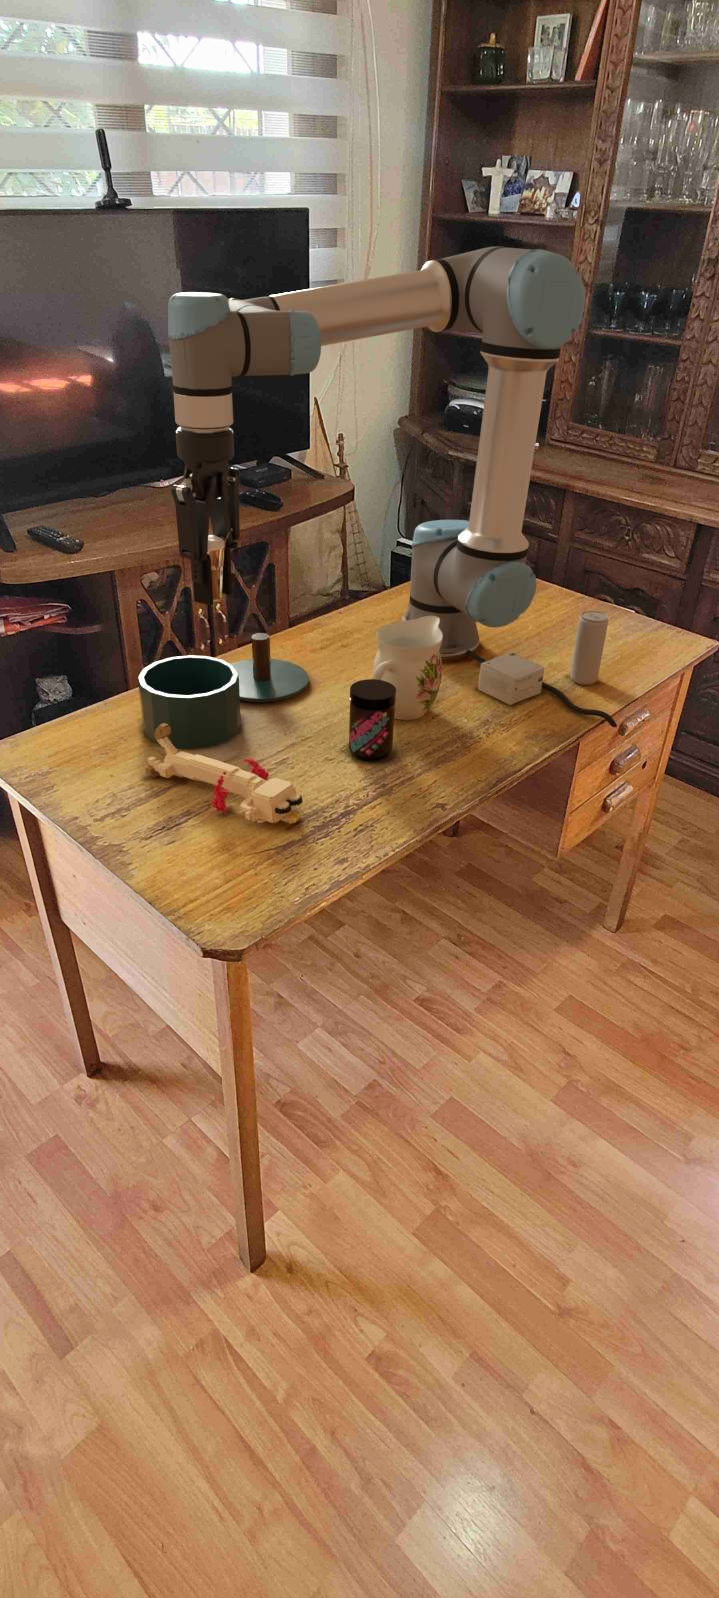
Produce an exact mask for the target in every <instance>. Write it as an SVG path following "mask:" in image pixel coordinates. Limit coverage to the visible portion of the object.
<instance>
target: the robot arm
mask: <svg viewBox="0 0 719 1598" xmlns="http://www.w3.org/2000/svg"><path fill="white" fill-rule="evenodd" d="M585 295H586V294H585V287H584V282H583V279H582V277H581V275H580V272H578V270H577V268H576V265H574V264H573V262H572V261H571V260H569V258H567V257H565V256H564V255H561V254H560V253H555V252H553V251H549V250H545V249H541V248H538V249H529V248H515V247H508V246H488V247H483V248H479V249H476V250H471V251H466V252H463V253H459V254H455V255H452V256H447V257H446V256H445V257H443V258H438V259H437V258H436V259H431V260H428V261H426V262H425V263H424V264H423V265H422V268H421V269H420V270H415V271H407V272H402V273H395V274H390V275H383V276H378V277H372V278H366V279H359V280H354V281H348V282H343V283H337V284H330V285H325V286H319V287H314V288H313V287H312V288H307V289H301V290H296V291H290V292H288V291H287V292H283V293H277V294H270V295H269V296H260V297H253V298H248V299H240V298H235V297H231V298H228V297H227V296H226V295H224V294H222V293H216V292H201V291H200V292H199V291H198V292H197V291H186V292H178V293H177V292H176V293H175V294H173V295H171V296H170V298H169V300H168V304H167V324H168V326H167V327H168V328H167V329H168V330H167V331H168V332H167V338H168V344H169V355H170V365H171V375H172V391H173V404H174V406H173V407H174V422H175V424H176V425H178V427H177V428H176V430H175V441H176V442H175V444H176V454H177V457H178V458H179V459H180V460H182V461H183V464H184V470H183V481H182V482H181V483H180V484H179V485H178V484H172V486H171V488H170V491H171V495H172V498H173V502H174V506H175V517H176V531H177V538H178V539H177V541H178V552H179V556H180V558H184V559H189V560H190V568H191V569H190V570H191V580H192V583H193V584H192V587H193V598H194V599H193V600H194V603H197V604H202V605H206V606H212V605H214V602H213V587H212V569H211V559H208V558H207V549H208V535H209V534H210V533H209V532H210V531H209V530H210V525H211V532H212V535H215V536H217V537H220V538H222V539H223V540H224V542H225V540H226V538H227V535H228V533H229V532H230V533H229V535H228V538H227V540H226V543H225V552H224V564H223V580H222V595H223V594H224V595H228V596H230V595H231V594H232V593H233V588H232V585H233V584H232V553H231V552H232V551H231V549H234V550H236V549H237V548H238V545H239V543H238V540H239V539H240V537H241V533H240V531H241V530H240V529H241V527H240V526H241V525H240V481H241V475H242V472H241V468H236V467H232V466H231V467H230V465H229V461H230V460H232V459H233V458H234V456H235V438H234V436H235V435H234V430H233V429H232V427H230V426H232V425H233V424H234V408H233V407H234V405H233V385H232V381H233V377H239V378H240V377H248V376H250V377H251V376H253V377H254V376H255V377H256V376H257V377H258V376H290V377H293V376H294V375H303V374H309V373H312V372H314V371H315V369H316V368H318V367H317V366H318V365H319V362H320V359H321V354H322V347H323V346H328V345H334V344H340V343H346V342H352V341H356V340H357V341H358V340H361V339H362V340H363V339H368V338H373V337H378V336H383V335H388V334H394V333H400V332H405V331H411V330H416V329H420V328H428V329H429V330H430V331H432V332H434V333H439V332H445V331H451V330H452V331H453V330H455V331H465V332H467V331H468V332H475V333H480V334H482V335H481V343H480V351H479V353H480V355H481V356H482V358H483V359H484V360H485V362H486V364H487V366H488V371H487V372H488V373H487V379H486V387H485V394H484V402H483V409H482V417H481V427H480V433H479V440H478V449H477V456H476V465H475V473H474V479H473V489H472V495H471V496H472V497H471V504H470V505H471V506H470V512H469V519H468V520H465V519H437V520H430V521H425V522H422V523H420V524H418V525H417V526H416V527H415V529H414V530H413V537H412V543H411V563H410V564H411V567H410V585H409V598H408V599H409V601H408V606H407V609H406V611H405V613H403V615H402V617H401V620H400V621H406V620H413V619H417V618H420V617H424V616H436V617H439V618H440V623H439V628H440V630H441V631H442V634H443V639H442V643H441V646H440V650H439V653H440V656H441V662H442V663H451V662H458V661H463V660H467V659H470V658H471V659H473V660H475V661H476V662H478V663H480V664H481V663H483V662H486V661H487V660H486V659H485V658H483V657H482V656H480V655H479V654H477V652H478V651H479V646H480V635H479V631H478V626H477V623H479V624H481V625H483V626H485V627H487V628H488V627H489V628H501V627H505V626H508V625H511V624H512V623H514V622H516V620H518V619H519V618H520V616H521V615H523V614H524V613H525V612H526V611H527V610H528V609H529V607H530V606H531V604H532V602H533V600H534V598H535V596H536V591H537V577H536V574H535V573H534V572H533V569H532V568H531V566H529V565H527V560H528V553H529V548H530V547H529V546H530V543H529V540H528V539H527V538H526V537H525V535H524V533H523V525H524V519H525V512H526V507H527V500H528V495H529V493H528V492H529V486H530V480H531V474H532V467H533V461H534V455H535V448H536V443H537V435H538V430H539V424H540V417H541V410H542V404H543V399H544V391H545V386H546V378H547V373H548V371H549V370H550V369H551V368H552V367H553V366H555V364H557V363H558V362H559V361H560V356H561V351H562V346H563V345H564V344H566V343H567V342H569V340H571V339H572V334H573V333H575V332H577V330H578V329H579V327H580V324H581V322H582V319H583V315H584V312H585V304H586V298H585V297H586V296H585ZM236 541H237V542H236ZM541 689H544V690H547V691H548V692H550V693H552V694H554V695H556V697H558V698H559V699H560V700H561V701H562V702H563V704H564V705H565V706H566V707H567V708H568V709H570V710H571V711H573V712H575V713H577V714H580V715H585V716H595V717H600V718H602V719H604V720H605V721H606V722H607V723H608V725H610V727H612V728H618V725H617V722H616V721H615V719H614V718H613V717H612V715H610V714H609V713H607V712H605V711H603V710H598V709H592V708H591V709H590V708H583V707H579V706H577V705H576V704H574V703H573V702H572V701H571V700H570V699H569V698H568V696H566V695H565V694H564V693H563V692H562V691H561V690H560V689H559V688H557V687H555V686H553V685H551V684H548V683H546V682H544V681H542V687H541Z"/></svg>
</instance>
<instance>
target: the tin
mask: <svg viewBox="0 0 719 1598" xmlns="http://www.w3.org/2000/svg"><path fill="white" fill-rule="evenodd" d="M231 664H232V663H230V662H228V661H225V660H224V659H221V658H216V657H212V656H207V655H194V654H193V655H190V654H189V655H179V656H171V657H167V658H163V659H161V660H158V661H154V662H152V663H150V664H149V665H147V666H145V667H144V668H142V670H141V672H140V673H139V675H138V676H137V682H138V691H139V700H140V701H139V702H140V710H141V718H142V725H143V730H144V733H145V735H146V737H148V738H149V739H150V740H152V741H153V742H154V743H157V744H159V742H157V739H155V734H154V733H156V731H155V730H156V729H157V728H158V727H159V725H161V724H163V723H165V724H168V725H169V727H170V729H171V733H170V734H169V735H167V736H166V737H167V738H168V739H169V741H170V742H171V744H173V746H174V747H175V749H201V748H207V747H212V746H215V745H218V744H221V743H223V742H224V743H225V742H226V741H227V740H230V739H231V738H232V737H234V735H236V734H237V733H238V731H239V730H240V726H241V722H242V719H241V717H242V716H241V700H240V691H239V674H238V672H237V670H236V668H235V667H234V666H233V665H231Z"/></svg>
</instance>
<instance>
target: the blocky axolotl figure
mask: <svg viewBox="0 0 719 1598" xmlns="http://www.w3.org/2000/svg"><path fill="white" fill-rule="evenodd" d="M155 731H156V733H154V734H155V739H157V742H159V743H158V744H159V745H160V747H162V748H163V749H164V750H165V756H164V757H163V762H161V761H160V760H159V759H157V757H155V756H153V755H151V756H150V757H148V758H146V759H147V766H146V767H145V774H146V775H149V777H153V778H156V777H157V776H160V777H163V778H165V779H169V778H171V777H172V776H176V777H179V778H181V779H182V778H186V779H189V780H192V781H195V782H198V781H201V782H204V783H207V784H210V785H213V786H214V788H213V796H214V797H213V798H212V800H211V804H212V808H214V809H215V810H216V812H222V813H224V812H225V813H228V812H229V809H228V808H226V807H227V806H226V805H227V804H226V801H225V799H227V798H228V797H229V795H230V793H232V794H234V795H238V796H241V797H242V798H243V799H244V800H242V801H241V804H240V811H242V812H244V815H245V819H246V820H249V821H250V820H251V821H252V822H257V824H261V823H262V824H263V823H265V822H267V823H271V824H274V823H275V824H277V822H279V821H282V822H285V823H288V824H290V825H291V824H295V823H296V822H298V821H299V816H301V815H304V814H305V810H304V811H303V810H296V809H297V808H296V807H297V806H300V805H301V804H303V796H302V794H300V793H298V792H297V788H296V786H295V785H294V783H293V782H292V781H288V780H285V779H281V778H279V777H271V778H270V779H269V780H268V777H269V776H270V775H269V771H266V769H265V768H263V767H262V766H261V764H259V762H257V761H256V760H254V759H253V758H244V759H243V762H244V763H246V762H247V763H248V765H249V766H251V767H252V768H251V769H250V772H249V771H246V770H243V769H242V768H240V767H239V766H237V765H234V764H230V763H227V762H224V761H221V760H217V759H214V758H211V757H208V756H204V755H201V754H198V753H196V754H192V753H190V752H186V751H182V750H181V751H179V750H178V748H175V747H174V746H173V744H171V742H170V741H169V739H168V738H167V737H166V736H167V735H169V734H170V733H171V729H170V727H169V725H168V724H165V723H163V724H161V725H159V727H158V728H157V729H156V730H155ZM157 742H156V743H157ZM222 788H223V789H222ZM251 804H252V805H253V806H251Z"/></svg>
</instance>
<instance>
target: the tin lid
mask: <svg viewBox="0 0 719 1598" xmlns="http://www.w3.org/2000/svg"><path fill="white" fill-rule="evenodd" d="M251 655H252V658H250V659H243V660H238V661H235V662H232V663H230V664H231V665H233V666H234V667H235V668H236V670H237V672H238V674H239V691H240V701H246V702H254V703H255V702H256V703H263V702H264V703H266V702H267V703H268V702H275V701H276V702H277V701H281V700H282V701H283V700H286V699H290V698H293V697H295V696H296V695H299V694H300V693H302V692H303V691H305V689H307V687H308V686H309V679H310V677H309V674H308V672H307V671H306V670H305V669H304V668H303V667H302V666H300V665H299V664H296V663H293V662H290V661H288V660H283V659H276V658H271V635H270V634H268V633H267V632H266V633H265V632H256V633H253V634H252V635H251Z"/></svg>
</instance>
